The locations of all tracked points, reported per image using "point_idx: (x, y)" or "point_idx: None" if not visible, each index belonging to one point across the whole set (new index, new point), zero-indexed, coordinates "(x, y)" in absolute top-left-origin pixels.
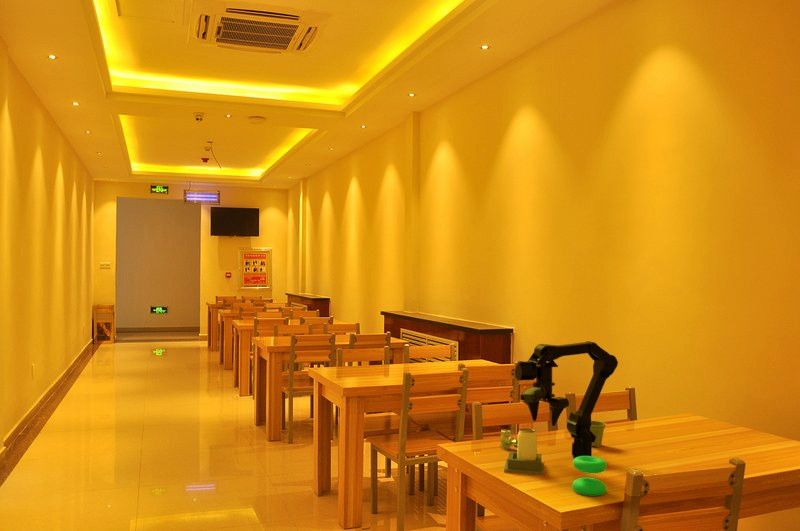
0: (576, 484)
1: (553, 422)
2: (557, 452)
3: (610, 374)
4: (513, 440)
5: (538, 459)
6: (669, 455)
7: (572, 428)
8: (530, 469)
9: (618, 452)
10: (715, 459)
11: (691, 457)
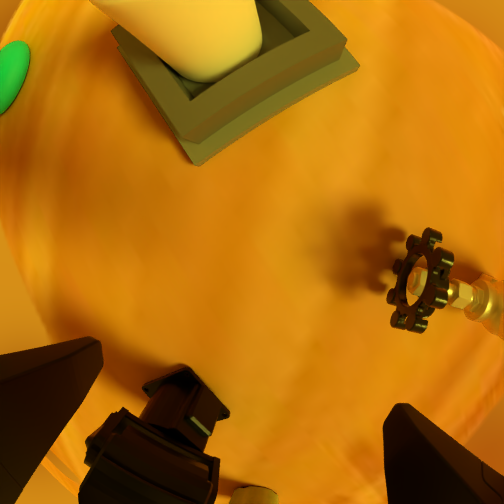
0: (12, 42)
1: (57, 345)
2: (288, 398)
3: None
4: (471, 294)
5: (137, 44)
6: None
7: (143, 459)
8: None
9: None
10: (74, 470)
11: None
